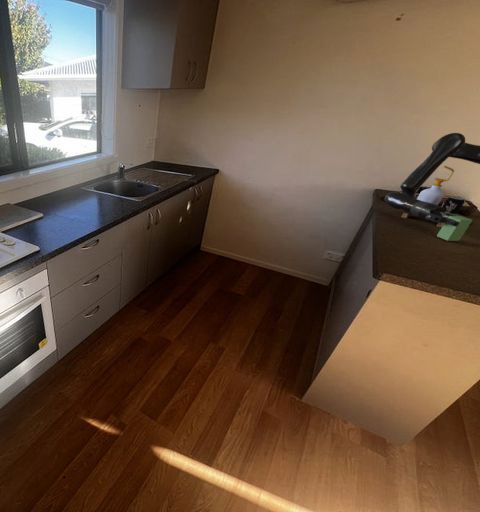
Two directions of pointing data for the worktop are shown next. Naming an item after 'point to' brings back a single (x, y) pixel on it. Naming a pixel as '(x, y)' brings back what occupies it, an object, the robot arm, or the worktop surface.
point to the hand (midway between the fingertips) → (464, 224)
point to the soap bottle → (434, 191)
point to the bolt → (467, 209)
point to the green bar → (454, 229)
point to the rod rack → (406, 215)
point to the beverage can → (453, 204)
